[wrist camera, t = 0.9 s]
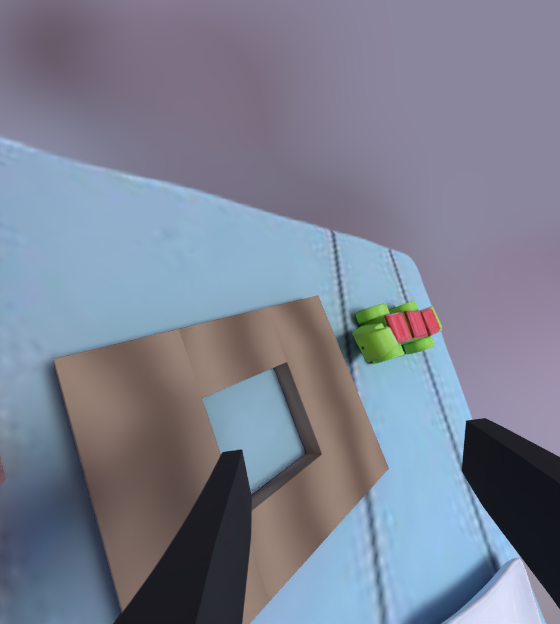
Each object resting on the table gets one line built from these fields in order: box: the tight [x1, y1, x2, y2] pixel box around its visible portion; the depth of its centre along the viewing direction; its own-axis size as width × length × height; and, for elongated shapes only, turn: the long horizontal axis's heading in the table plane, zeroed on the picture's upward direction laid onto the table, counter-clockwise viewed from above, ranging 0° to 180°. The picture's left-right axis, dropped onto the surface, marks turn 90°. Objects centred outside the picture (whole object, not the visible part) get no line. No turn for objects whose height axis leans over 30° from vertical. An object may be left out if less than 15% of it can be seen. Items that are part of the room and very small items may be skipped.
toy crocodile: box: [352, 301, 442, 364], centre depth 36 cm, size 20×7×6 cm, turn 108°
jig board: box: [54, 296, 389, 624], centre depth 22 cm, size 22×18×2 cm
